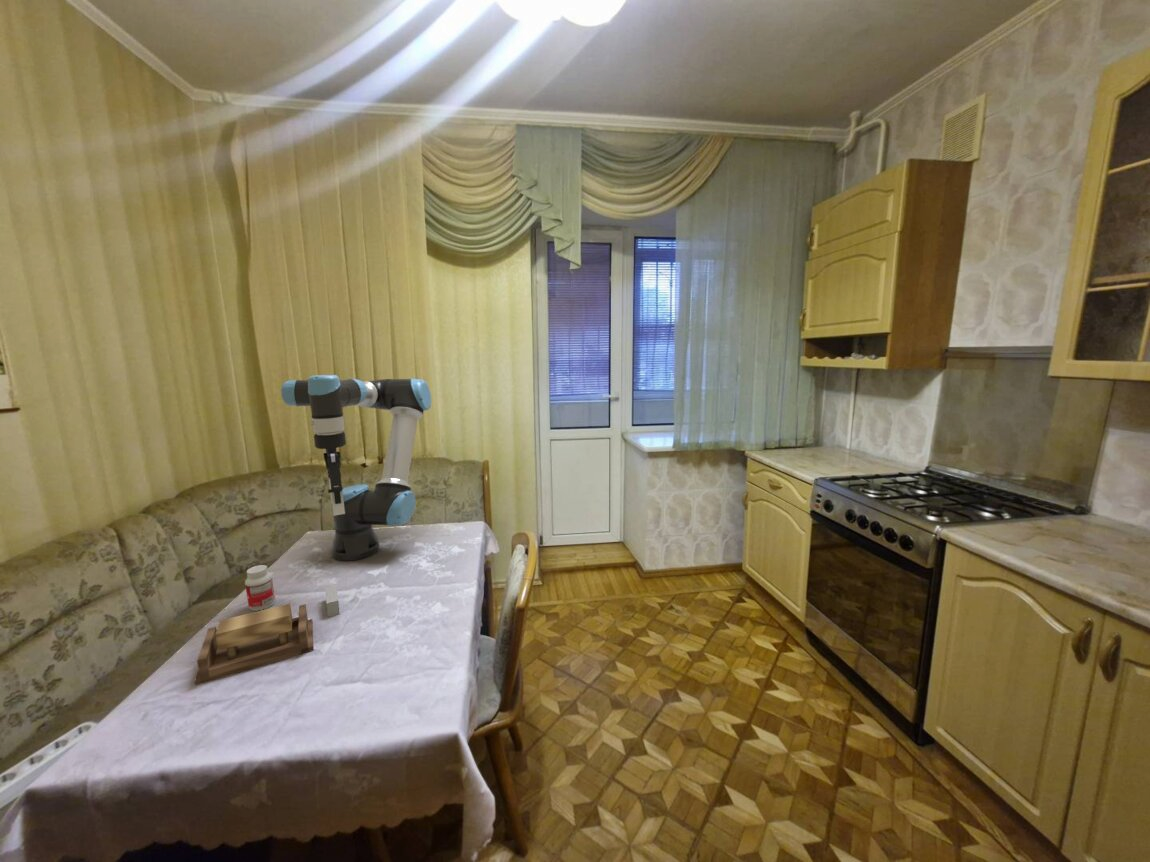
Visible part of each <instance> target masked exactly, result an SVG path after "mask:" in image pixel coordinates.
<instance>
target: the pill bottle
mask: <svg viewBox="0 0 1150 862" xmlns="http://www.w3.org/2000/svg"><path fill="white" fill-rule="evenodd" d="M244 585H245V591H246V592H245V593H246V599H247V604H248V609H249V610H250V611H252V612H257V611H259V610H260V611H261V610H263V609H264V610H265V609H269V608H271V607H272V606H273V605H274V604H275V603H276V595H275V590H274V583H273V576H272V574H271V572H269V571H268V566H267V565H265V564H264V565H263V564H258V565H253V566H252V567H250V568H248V569H247V570H246V579H245V581H244Z"/></svg>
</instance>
